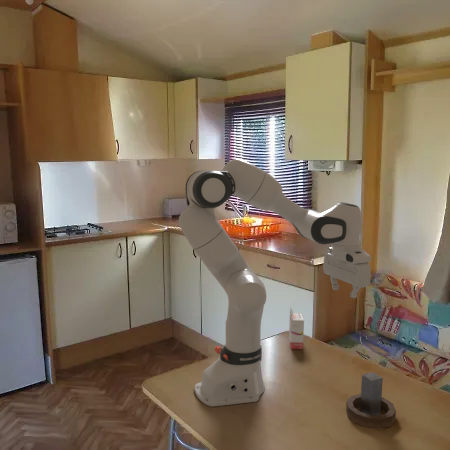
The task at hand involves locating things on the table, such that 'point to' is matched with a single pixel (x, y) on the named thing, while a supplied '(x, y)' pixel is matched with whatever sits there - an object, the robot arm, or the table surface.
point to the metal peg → (371, 394)
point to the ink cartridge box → (296, 330)
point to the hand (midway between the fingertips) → (344, 293)
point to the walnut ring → (370, 420)
